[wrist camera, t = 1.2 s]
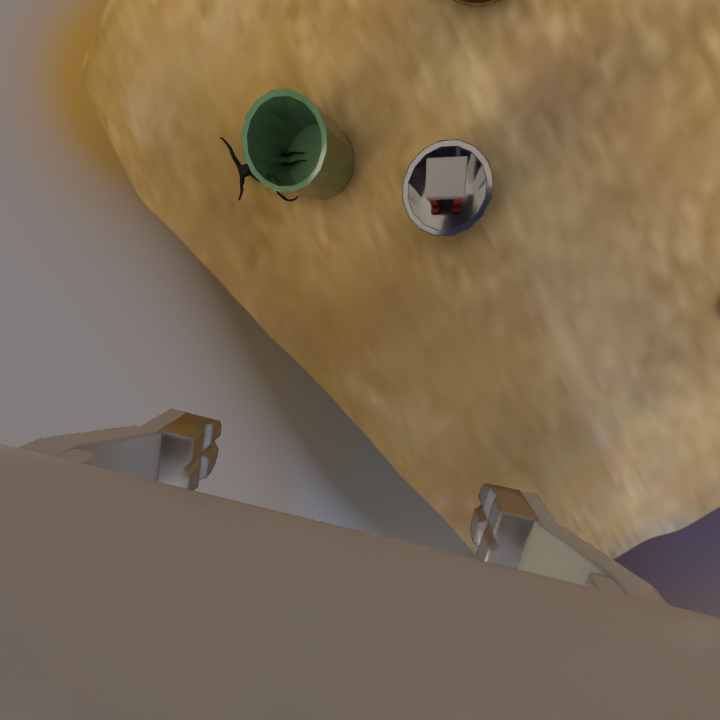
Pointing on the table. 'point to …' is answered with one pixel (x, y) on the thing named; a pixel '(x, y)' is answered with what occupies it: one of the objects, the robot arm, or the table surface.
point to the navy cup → (446, 221)
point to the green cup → (296, 146)
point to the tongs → (446, 181)
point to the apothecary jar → (476, 2)
